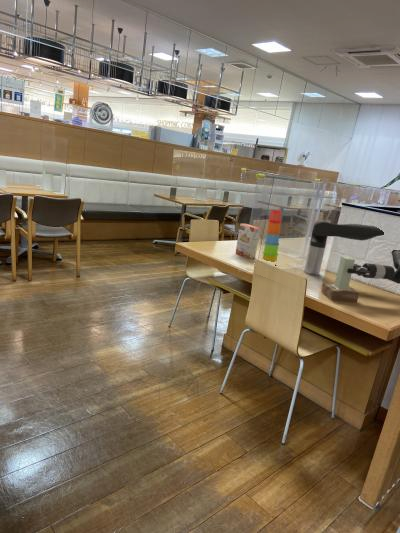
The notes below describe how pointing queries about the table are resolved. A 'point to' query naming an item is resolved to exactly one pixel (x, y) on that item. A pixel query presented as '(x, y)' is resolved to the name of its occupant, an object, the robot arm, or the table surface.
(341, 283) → the pillar
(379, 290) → the table surface
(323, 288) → the plinth
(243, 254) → the cracker box
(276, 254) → the stacking cups
